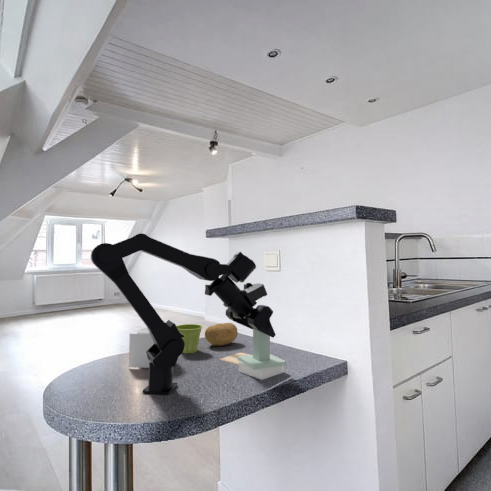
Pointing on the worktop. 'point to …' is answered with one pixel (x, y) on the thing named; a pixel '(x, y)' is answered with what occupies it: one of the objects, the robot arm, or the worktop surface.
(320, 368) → the worktop surface
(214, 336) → the potato
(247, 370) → the dish
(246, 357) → the mint green stamp
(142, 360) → the toilet tissue
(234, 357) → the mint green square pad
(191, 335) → the plant pot
